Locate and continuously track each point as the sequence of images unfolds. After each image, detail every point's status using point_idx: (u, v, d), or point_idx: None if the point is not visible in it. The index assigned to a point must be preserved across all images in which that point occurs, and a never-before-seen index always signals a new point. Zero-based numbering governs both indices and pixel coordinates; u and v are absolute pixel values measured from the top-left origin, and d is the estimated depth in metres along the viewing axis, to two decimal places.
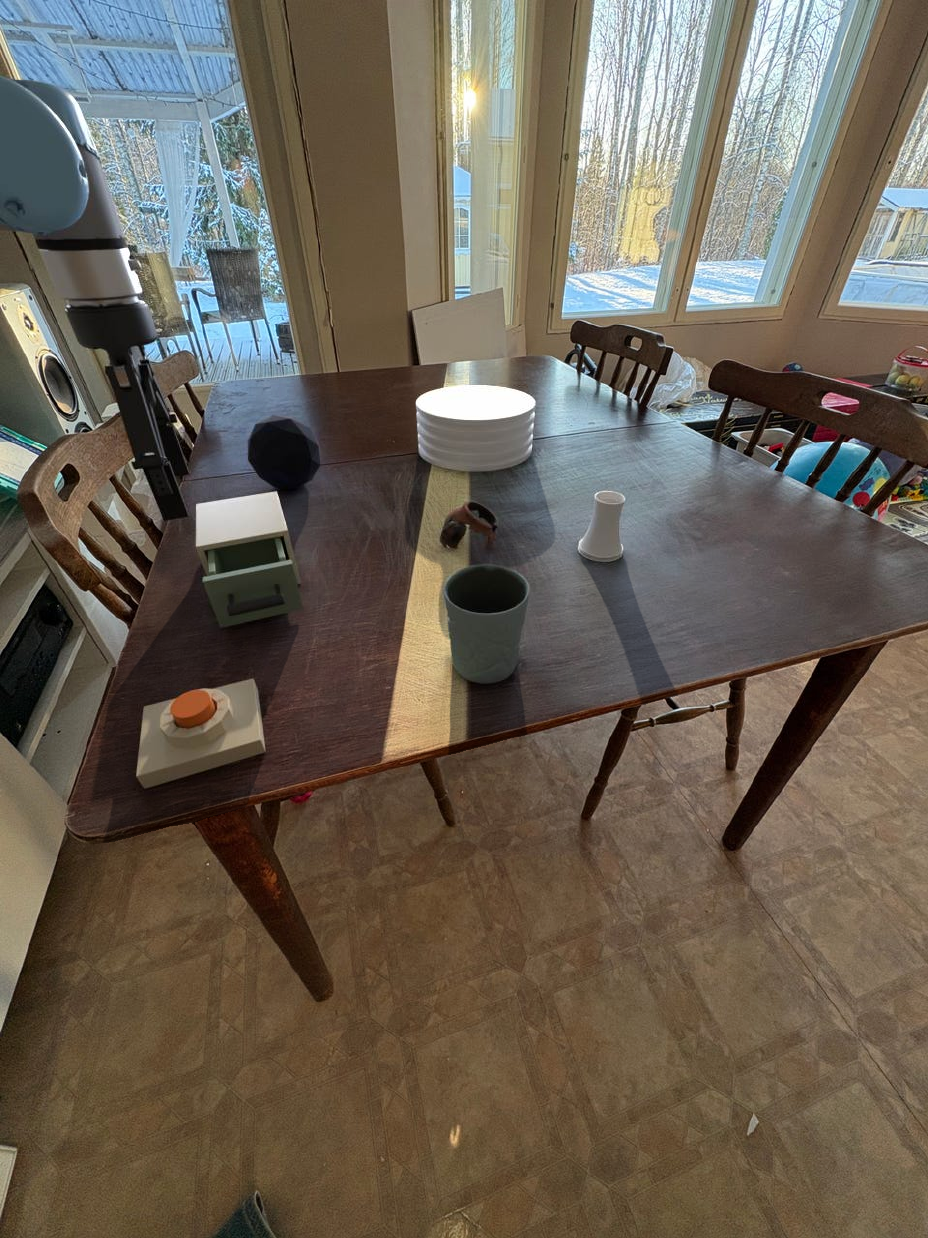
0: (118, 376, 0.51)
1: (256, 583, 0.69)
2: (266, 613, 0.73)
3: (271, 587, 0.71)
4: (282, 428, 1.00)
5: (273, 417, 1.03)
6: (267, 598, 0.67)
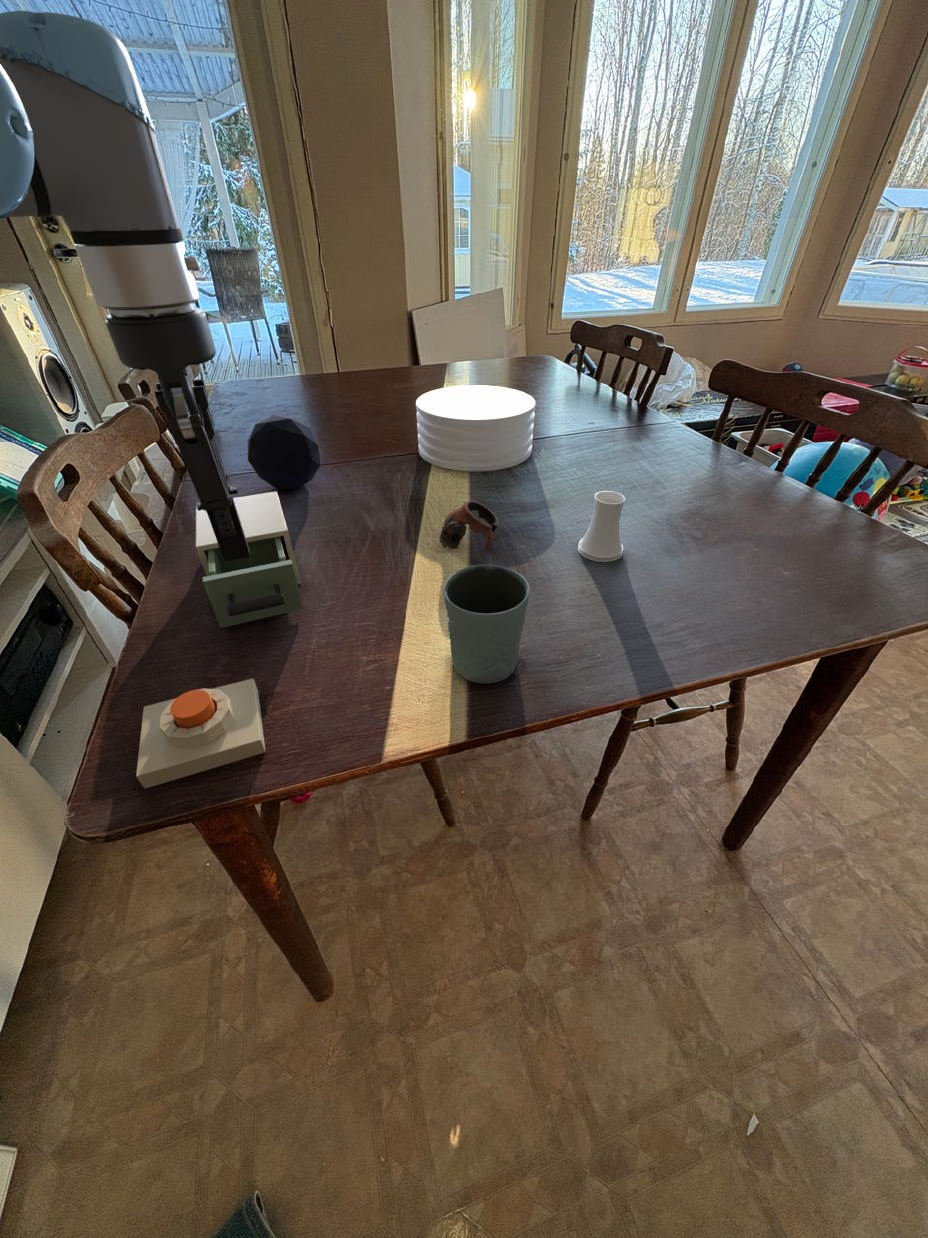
0: (184, 433, 0.42)
1: (256, 583, 0.69)
2: (266, 613, 0.73)
3: (271, 587, 0.71)
4: (282, 428, 1.00)
5: (273, 417, 1.03)
6: (267, 598, 0.67)
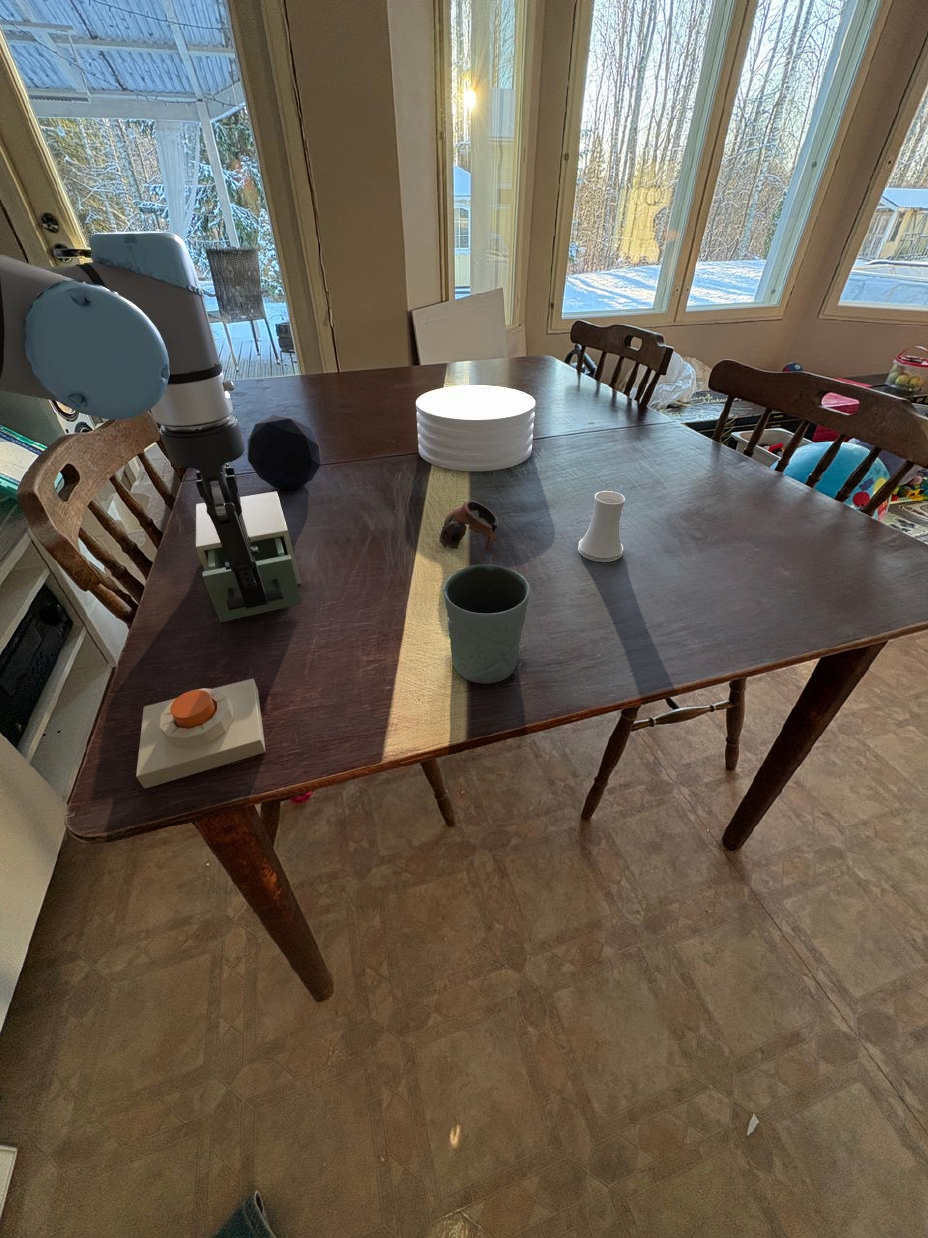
0: (220, 517, 0.53)
1: None
2: (265, 608, 0.74)
3: (270, 582, 0.72)
4: (282, 428, 1.00)
5: (273, 417, 1.03)
6: (266, 592, 0.68)
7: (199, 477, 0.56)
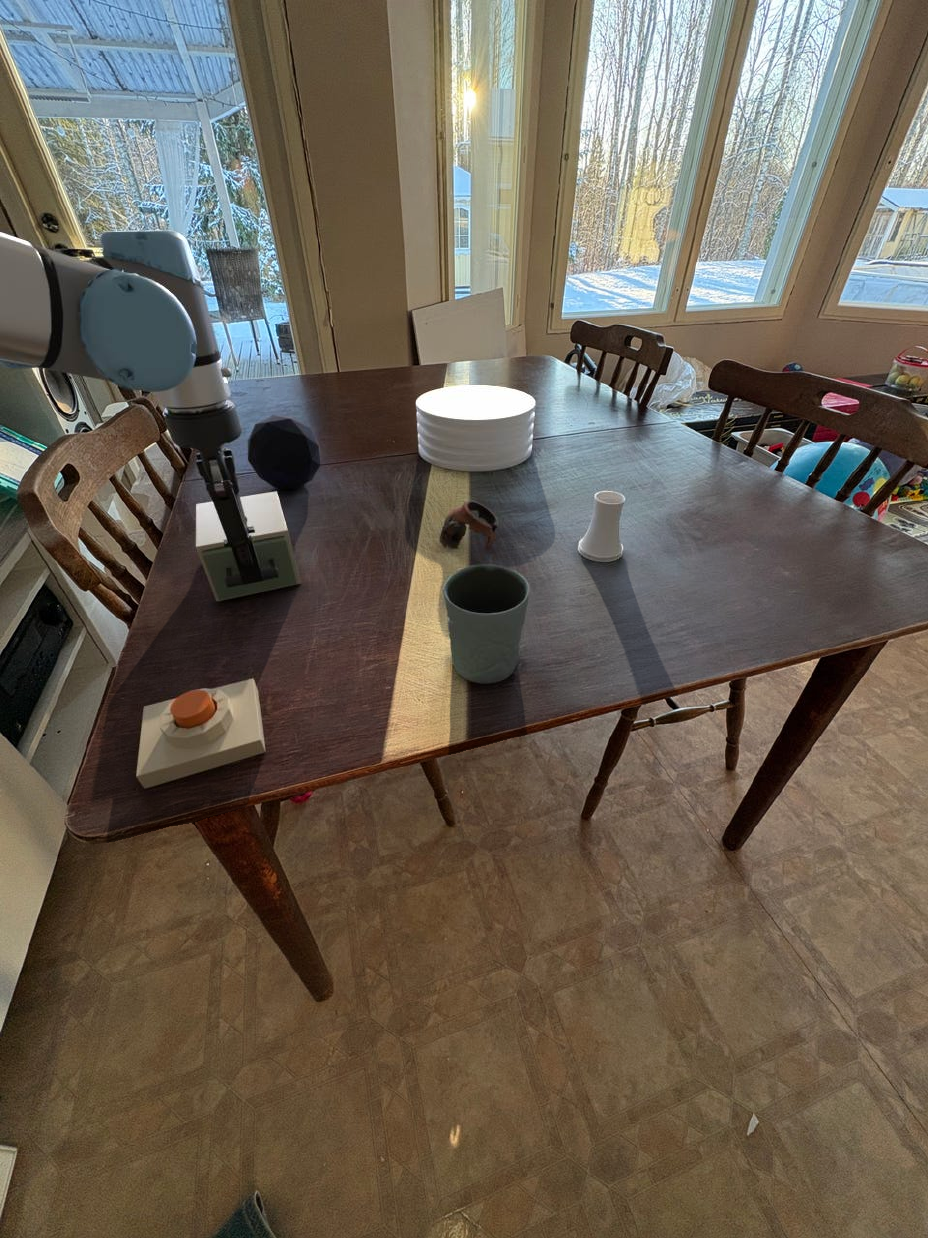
0: (218, 493, 0.57)
1: None
2: (262, 587, 0.78)
3: (266, 562, 0.76)
4: (282, 428, 1.00)
5: (273, 417, 1.03)
6: (262, 571, 0.72)
7: (199, 458, 0.61)
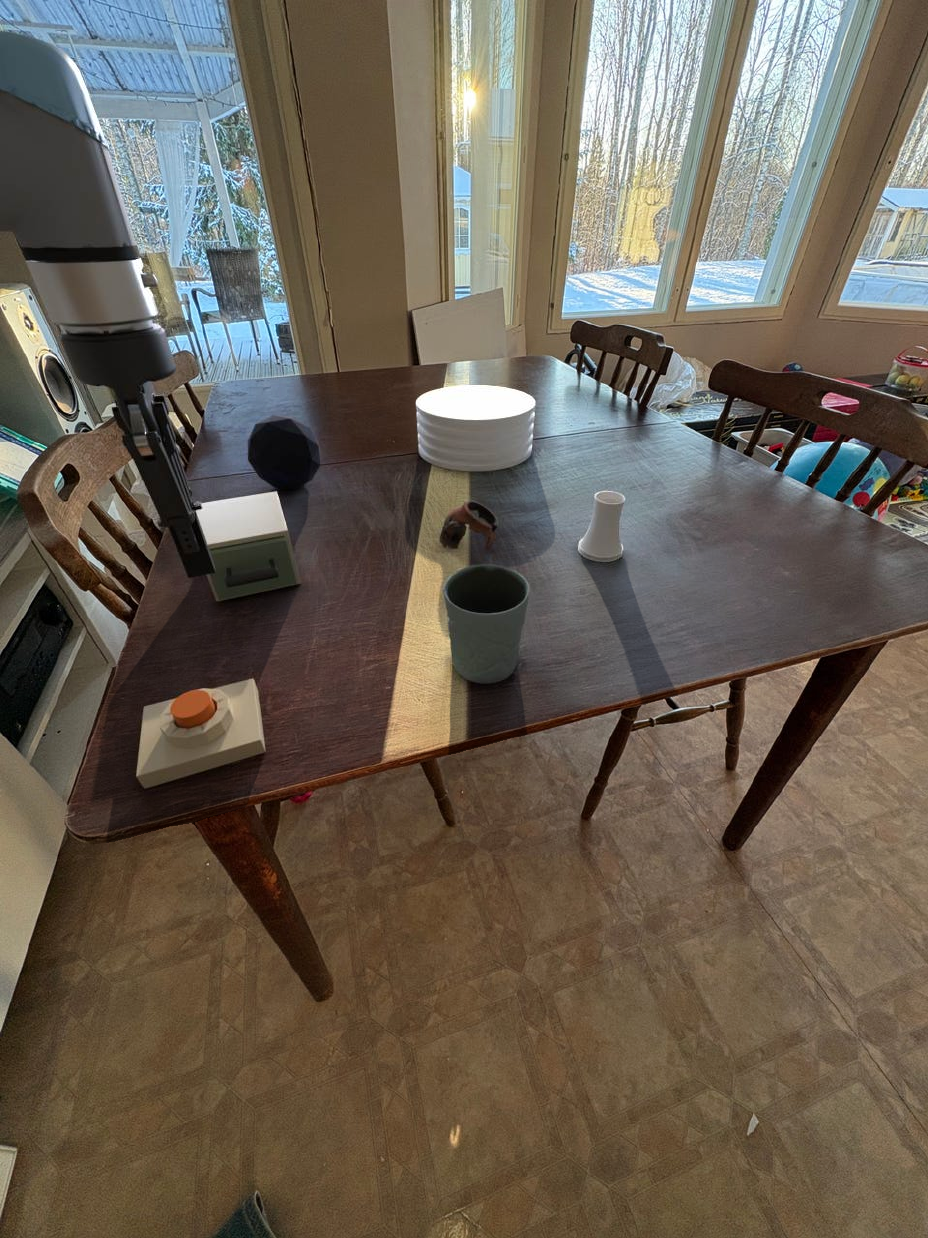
0: (140, 450, 0.42)
1: (252, 558, 0.75)
2: (262, 587, 0.78)
3: (266, 562, 0.76)
4: (282, 428, 1.00)
5: (273, 417, 1.03)
6: (262, 571, 0.72)
7: None
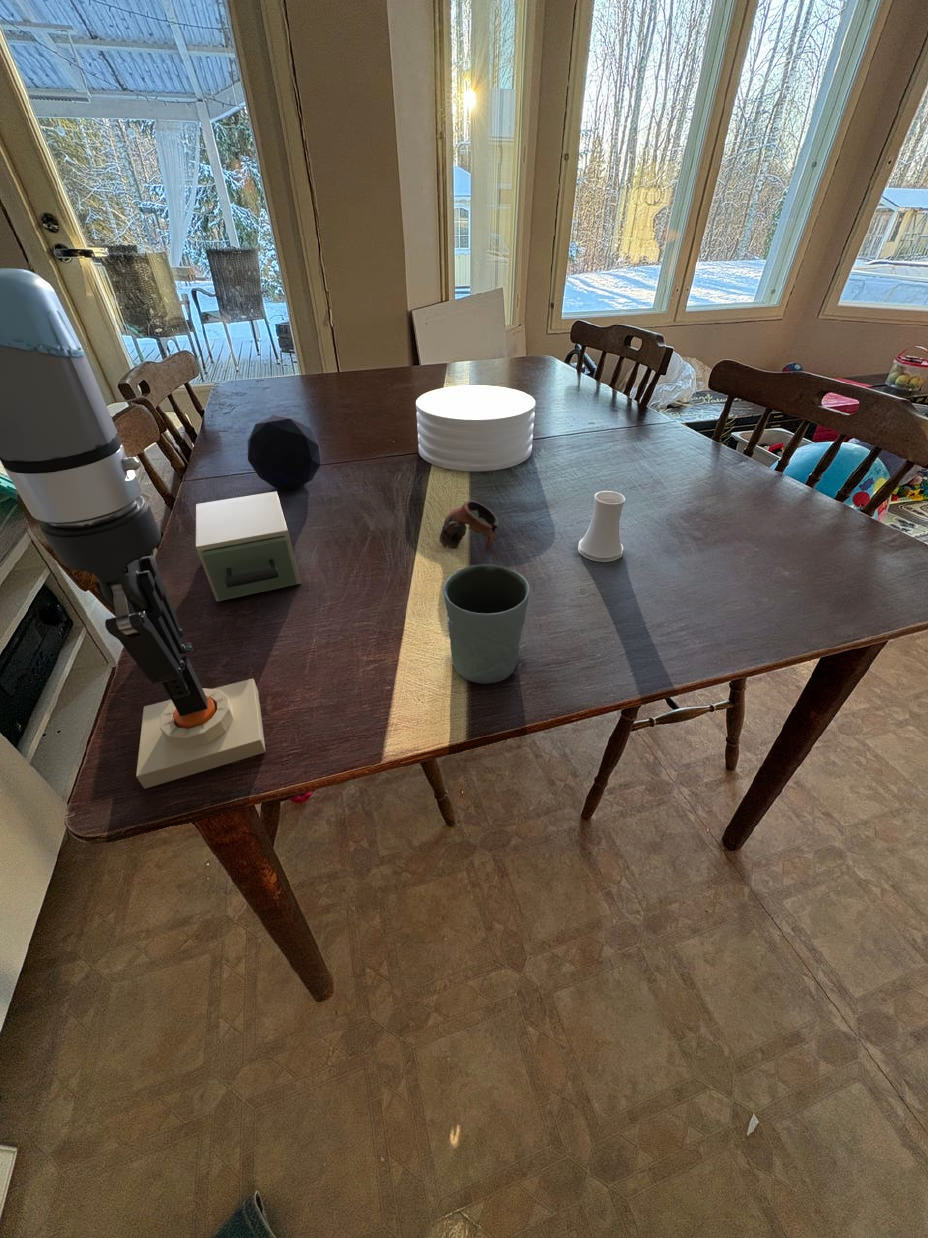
0: (124, 632, 0.41)
1: (252, 558, 0.75)
2: (262, 587, 0.78)
3: (266, 562, 0.76)
4: (282, 428, 1.00)
5: (273, 417, 1.03)
6: (262, 571, 0.72)
7: None
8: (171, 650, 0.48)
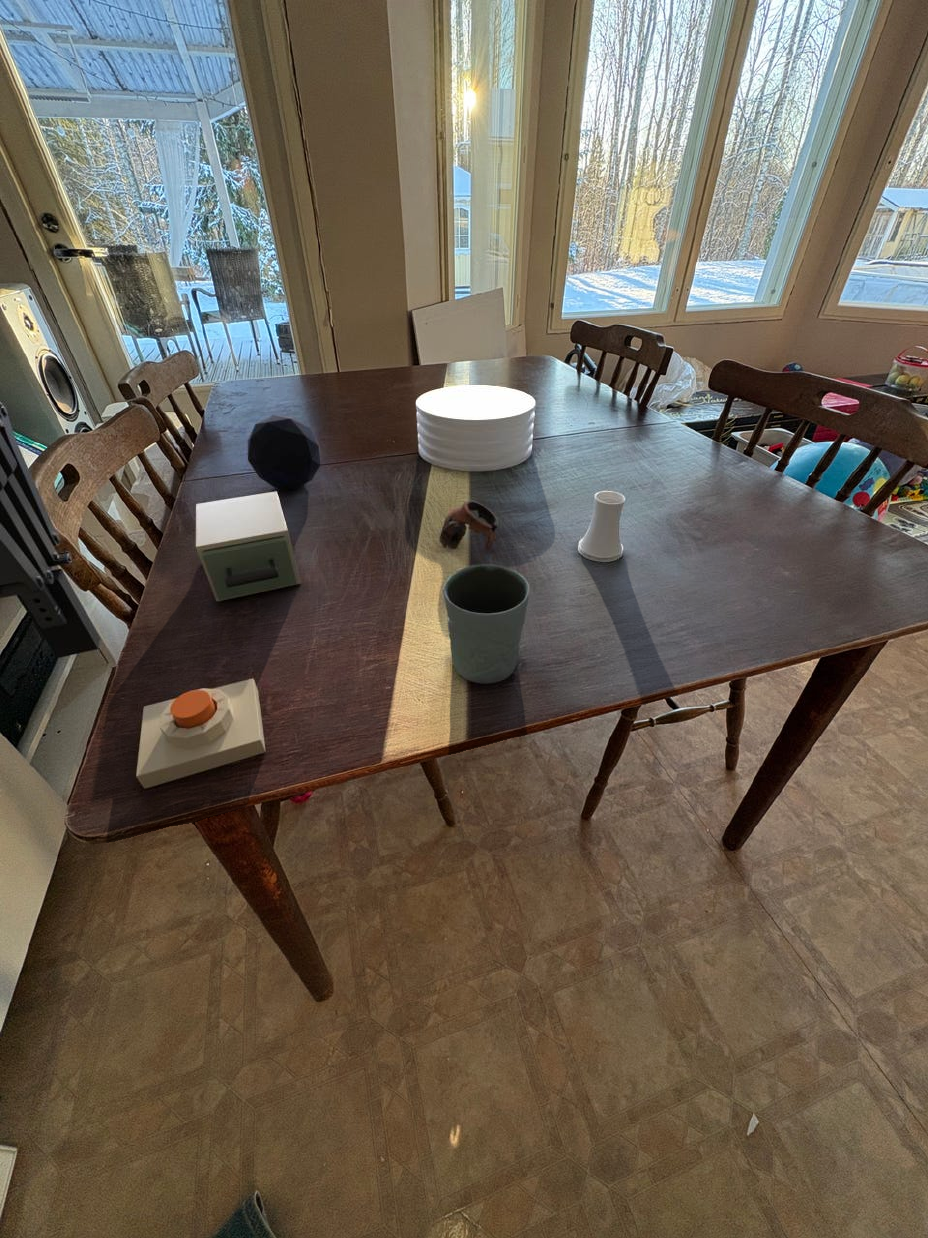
0: None
1: (252, 558, 0.75)
2: (262, 587, 0.78)
3: (266, 562, 0.76)
4: (282, 428, 1.00)
5: (273, 417, 1.03)
6: (262, 571, 0.72)
7: None
8: (26, 550, 0.33)
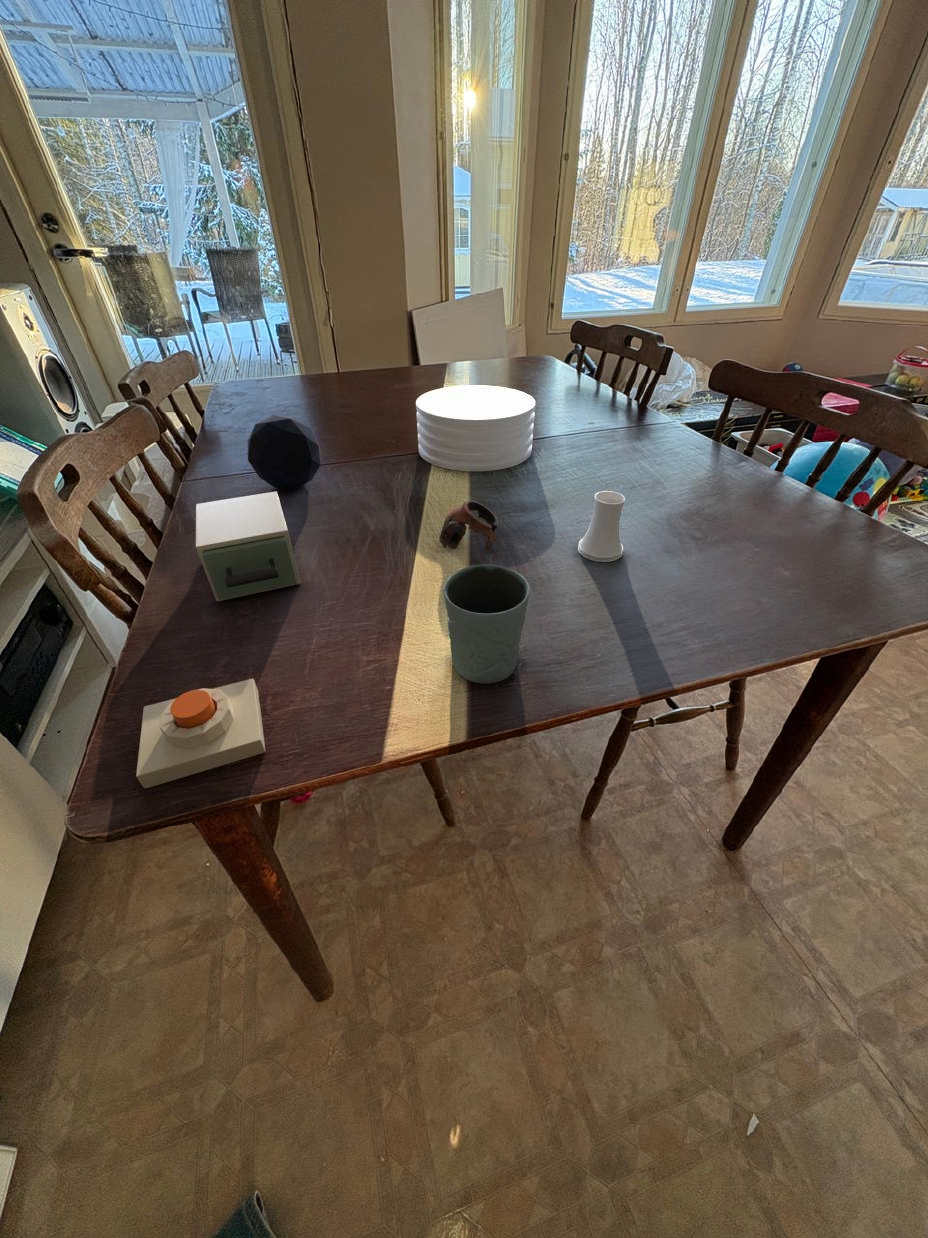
0: None
1: (252, 558, 0.75)
2: (262, 587, 0.78)
3: (266, 562, 0.76)
4: (282, 428, 1.00)
5: (273, 417, 1.03)
6: (262, 571, 0.72)
7: None
8: None
